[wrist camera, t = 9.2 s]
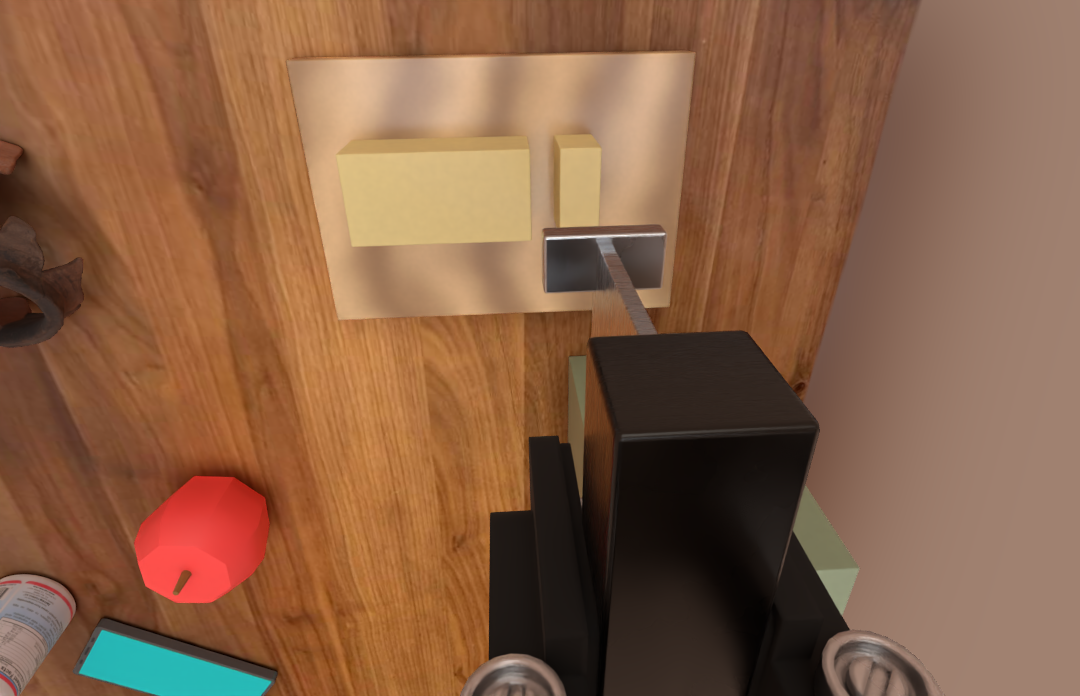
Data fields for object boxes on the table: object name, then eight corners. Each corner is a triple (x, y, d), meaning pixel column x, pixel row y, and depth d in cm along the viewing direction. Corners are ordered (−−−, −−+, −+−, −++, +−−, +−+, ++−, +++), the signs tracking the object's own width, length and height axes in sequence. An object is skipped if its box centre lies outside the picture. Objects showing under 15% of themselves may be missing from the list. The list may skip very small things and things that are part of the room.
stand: (717, 349, 40) (860, 568, 24) (696, 485, 46) (800, 731, 30) (568, 356, 39) (616, 583, 24) (567, 492, 45) (604, 746, 30)
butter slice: (591, 134, 31) (602, 147, 28) (589, 218, 33) (598, 239, 30) (553, 134, 31) (559, 148, 28) (553, 219, 33) (559, 240, 30)
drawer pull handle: (662, 207, 12) (846, 424, 6) (633, 534, 16) (718, 855, 10) (541, 211, 12) (593, 436, 5) (545, 539, 16) (576, 868, 10)
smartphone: (96, 626, 48) (276, 680, 53) (102, 616, 49) (279, 671, 53) (70, 673, 51) (244, 721, 55) (77, 664, 51) (247, 712, 56)
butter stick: (526, 135, 31) (529, 149, 28) (528, 220, 33) (531, 241, 30) (350, 140, 30) (334, 154, 27) (364, 225, 33) (351, 247, 30)
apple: (266, 551, 46) (225, 646, 39) (157, 520, 44) (94, 615, 37) (297, 480, 43) (259, 570, 36) (181, 443, 41) (117, 531, 34)
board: (687, 50, 31) (696, 52, 29) (663, 297, 38) (669, 307, 36) (293, 57, 30) (284, 59, 29) (343, 309, 37) (337, 320, 35)
